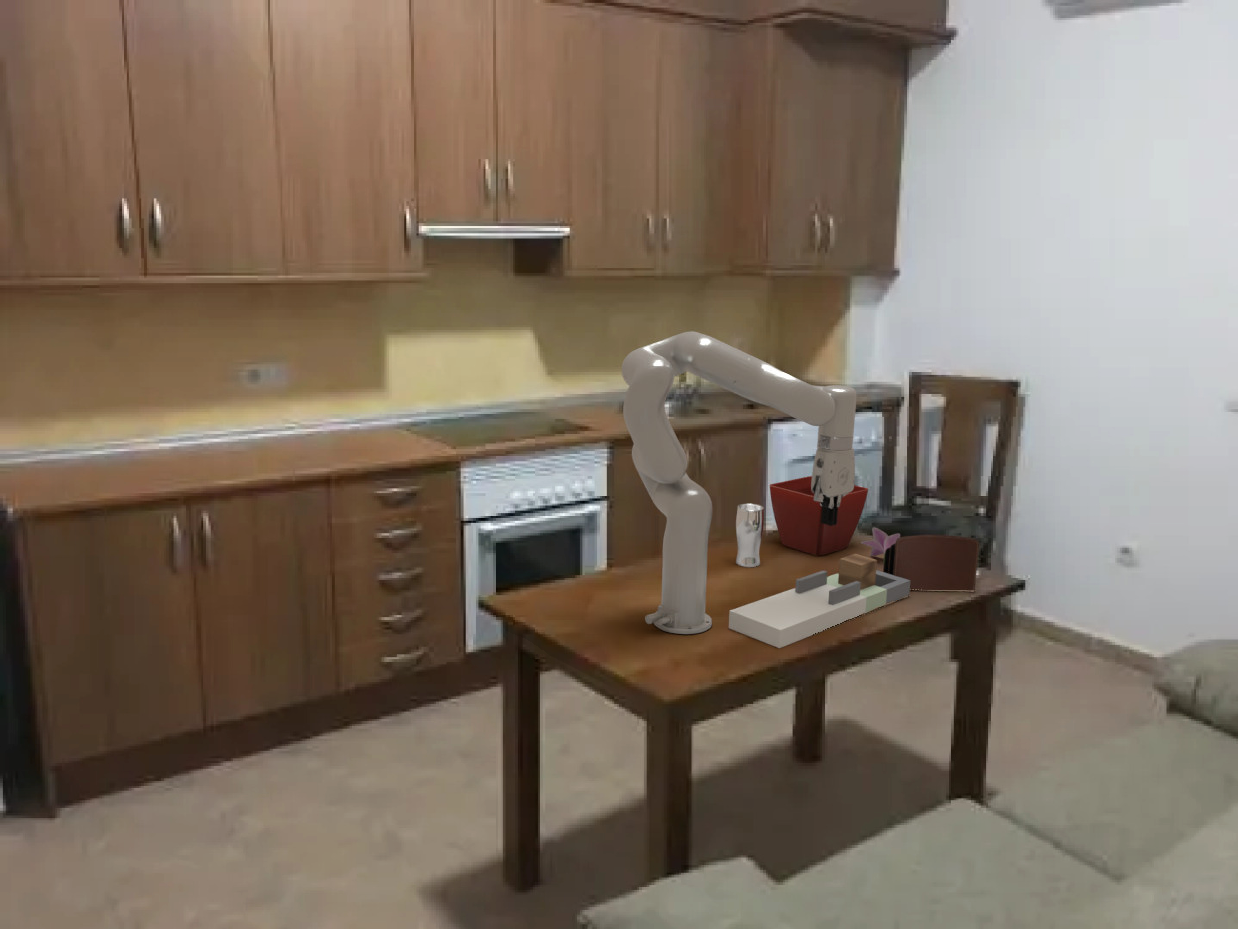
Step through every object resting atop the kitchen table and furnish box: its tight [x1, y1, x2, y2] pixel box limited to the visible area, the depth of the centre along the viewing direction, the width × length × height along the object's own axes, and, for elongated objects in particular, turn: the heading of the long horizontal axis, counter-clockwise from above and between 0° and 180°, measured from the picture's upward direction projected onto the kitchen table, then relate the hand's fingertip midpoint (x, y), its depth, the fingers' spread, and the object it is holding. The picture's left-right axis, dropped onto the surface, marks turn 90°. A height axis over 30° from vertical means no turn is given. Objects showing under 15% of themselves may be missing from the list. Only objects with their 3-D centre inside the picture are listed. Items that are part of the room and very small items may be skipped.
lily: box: [860, 526, 901, 558], centre depth 270 cm, size 12×12×10 cm
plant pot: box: [769, 475, 869, 556], centre depth 282 cm, size 19×19×17 cm
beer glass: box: [735, 503, 765, 568], centre depth 267 cm, size 7×7×15 cm
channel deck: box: [728, 569, 911, 649], centre depth 236 cm, size 48×14×7 cm, turn 132°
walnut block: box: [838, 553, 878, 590], centre depth 243 cm, size 6×6×6 cm
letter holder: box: [882, 534, 980, 591], centre depth 254 cm, size 10×20×14 cm, turn 90°
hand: (828, 523), depth 232 cm, fingers closed
